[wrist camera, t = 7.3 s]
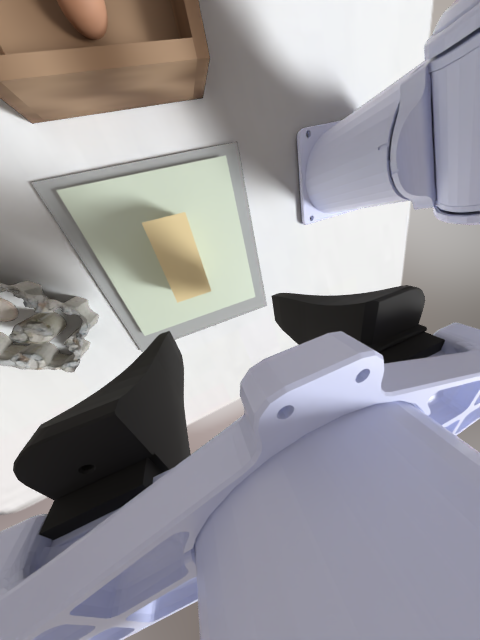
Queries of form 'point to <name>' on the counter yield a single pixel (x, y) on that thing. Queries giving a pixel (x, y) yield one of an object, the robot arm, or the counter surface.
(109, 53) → the box base
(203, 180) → the lid
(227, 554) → the robot arm
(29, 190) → the counter surface
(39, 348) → the egg carton
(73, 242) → the mat
